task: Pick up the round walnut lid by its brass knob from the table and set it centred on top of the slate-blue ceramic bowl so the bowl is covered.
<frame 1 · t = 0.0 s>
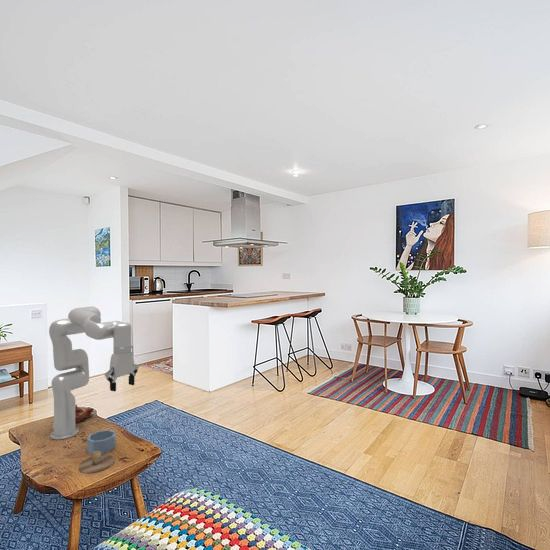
hand: (122, 387, 158), 31 cm above the table, fingers open, 9 cm apart
lid: (96, 465, 152), on the table
anatomical model: (77, 420, 198), on the table
bowl: (101, 448, 166), on the table
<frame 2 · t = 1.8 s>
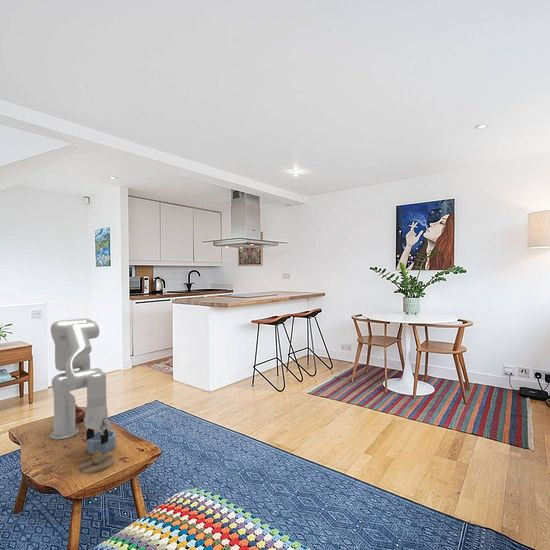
hand: (97, 440, 151), 11 cm above the table, fingers open, 9 cm apart
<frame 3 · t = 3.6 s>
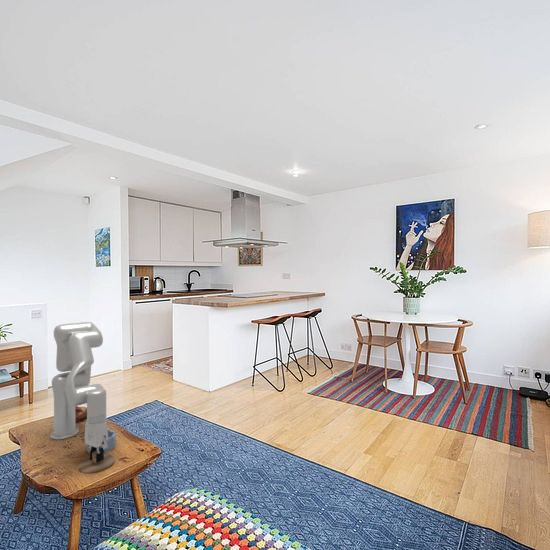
hand: (96, 459, 151), 2 cm above the table, fingers closed on lid, 3 cm apart
lid: (96, 464, 151), on the table, touching gripper
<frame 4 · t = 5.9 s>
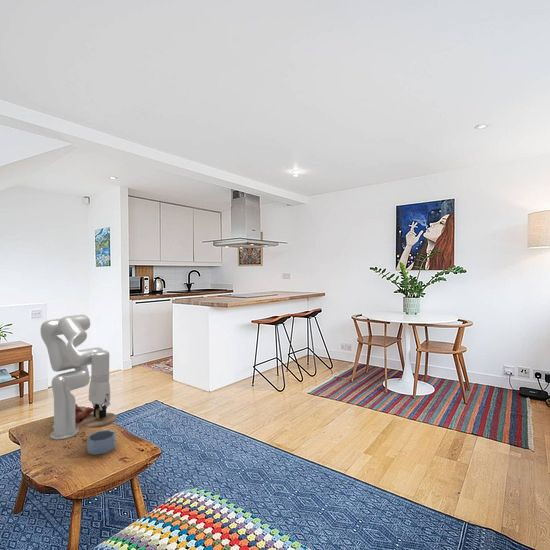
hand: (99, 416, 162), 17 cm above the table, fingers closed on lid, 3 cm apart
lid: (99, 421, 162), point 14 cm above the table, touching gripper
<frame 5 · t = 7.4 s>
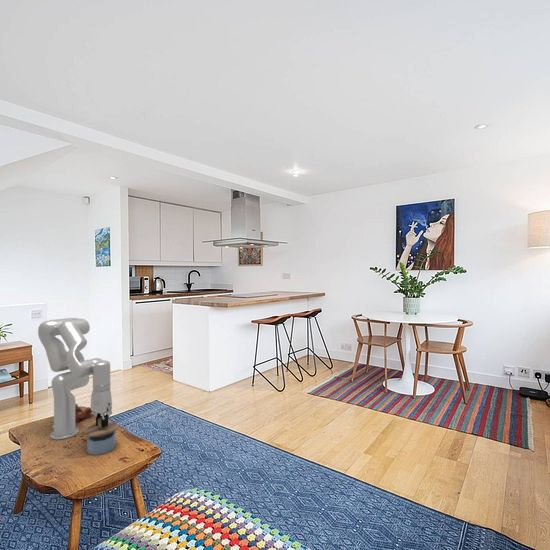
hand: (102, 425, 165), 11 cm above the table, fingers closed on lid, 3 cm apart
lid: (102, 430, 165), point 9 cm above the table, touching gripper
when the fingers open (9 cm above the table, at t = 8.4 s): lid drops 1 cm, resting on bowl.
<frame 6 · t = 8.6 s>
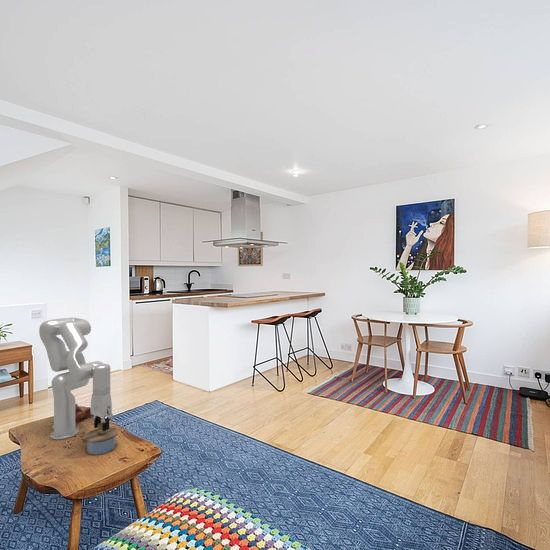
hand: (101, 428, 166), 9 cm above the table, fingers open, 5 cm apart
lid: (101, 435, 166), point 6 cm above the table, touching bowl
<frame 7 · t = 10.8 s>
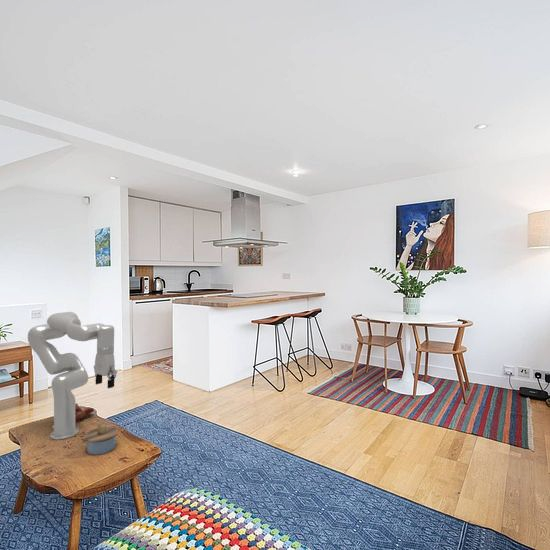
hand: (104, 385, 170), 28 cm above the table, fingers open, 9 cm apart
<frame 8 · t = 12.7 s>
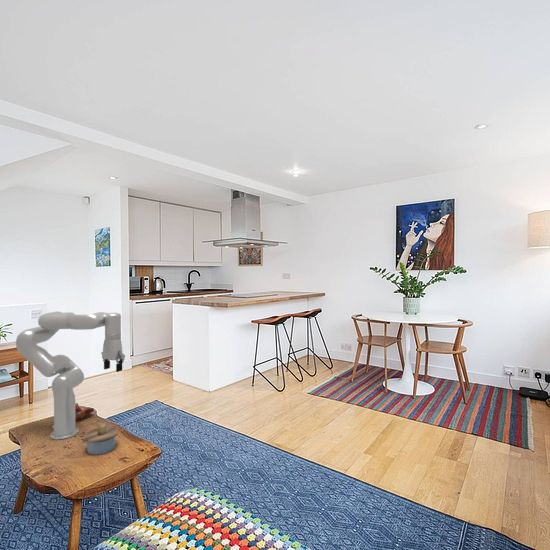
hand: (113, 370, 180), 33 cm above the table, fingers open, 9 cm apart
at the end: lid 0.1 cm off-centre on the bowl, point 6.0 cm above the bowl's base; lid tilted 0°; the gripper is holding nothing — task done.
